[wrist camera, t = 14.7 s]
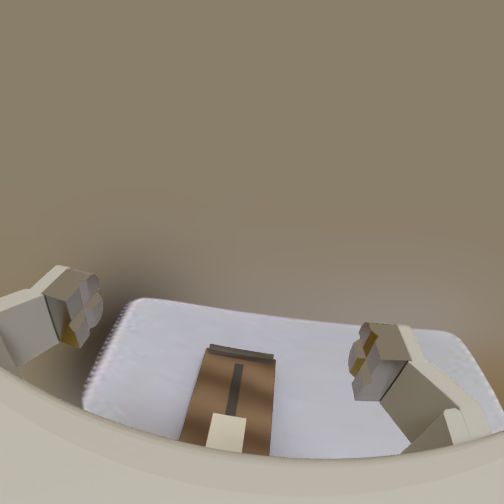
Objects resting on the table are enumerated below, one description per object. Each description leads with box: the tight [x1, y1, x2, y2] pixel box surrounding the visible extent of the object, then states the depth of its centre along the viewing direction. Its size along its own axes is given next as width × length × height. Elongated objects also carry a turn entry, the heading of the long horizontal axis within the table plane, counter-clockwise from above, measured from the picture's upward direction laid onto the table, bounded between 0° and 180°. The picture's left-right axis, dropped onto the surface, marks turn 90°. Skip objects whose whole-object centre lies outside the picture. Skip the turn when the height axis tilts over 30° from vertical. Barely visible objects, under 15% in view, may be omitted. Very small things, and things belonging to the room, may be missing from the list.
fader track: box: [179, 344, 276, 456], centre depth 28 cm, size 28×10×3 cm, turn 174°
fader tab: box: [206, 413, 246, 453], centre depth 20 cm, size 6×6×12 cm
